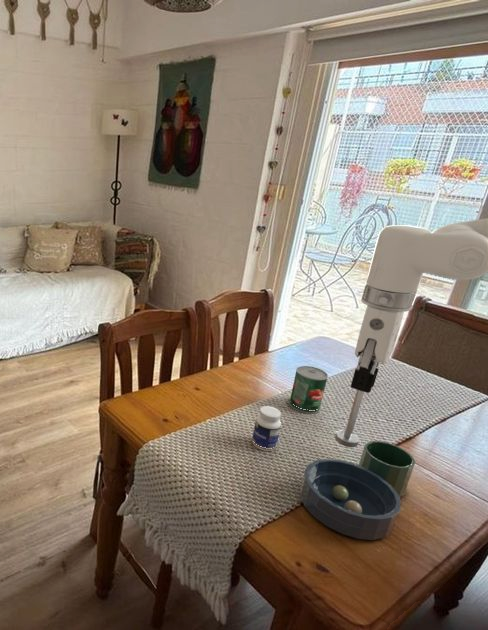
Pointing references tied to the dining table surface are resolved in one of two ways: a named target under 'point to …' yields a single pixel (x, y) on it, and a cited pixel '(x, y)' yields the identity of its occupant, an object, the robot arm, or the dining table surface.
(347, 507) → the ball
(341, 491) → the ball
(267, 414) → the pill bottle
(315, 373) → the canned tomato
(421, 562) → the dining table surface
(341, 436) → the black-handled disc rod
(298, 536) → the dining table surface
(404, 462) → the cup
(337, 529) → the bowl
